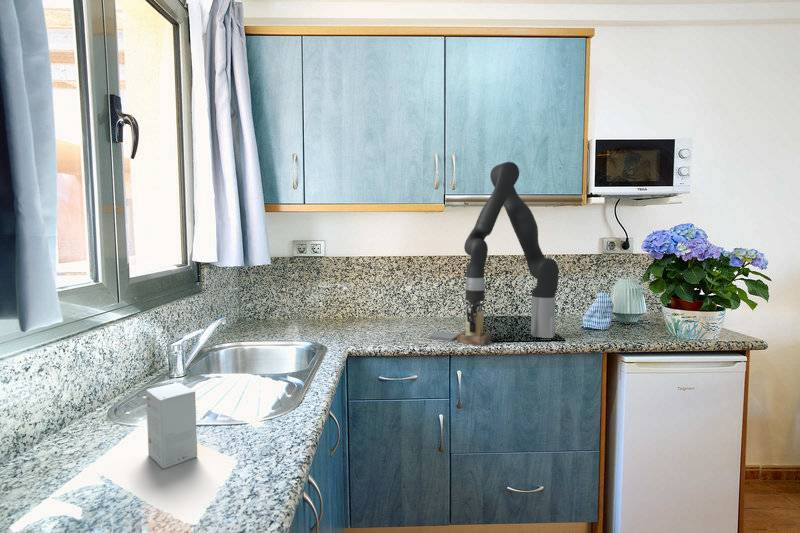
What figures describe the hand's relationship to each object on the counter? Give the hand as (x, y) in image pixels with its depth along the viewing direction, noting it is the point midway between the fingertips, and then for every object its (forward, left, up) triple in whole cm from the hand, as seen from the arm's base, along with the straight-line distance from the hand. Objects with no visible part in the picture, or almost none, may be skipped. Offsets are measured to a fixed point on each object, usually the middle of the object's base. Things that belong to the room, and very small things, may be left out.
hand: (474, 330), depth 175 cm
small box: (+23, +115, -5) cm, 117 cm away
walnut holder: (0, 0, -4) cm, 4 cm away
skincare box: (0, 0, -4) cm, 4 cm away
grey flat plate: (+13, -1, -4) cm, 14 cm away
